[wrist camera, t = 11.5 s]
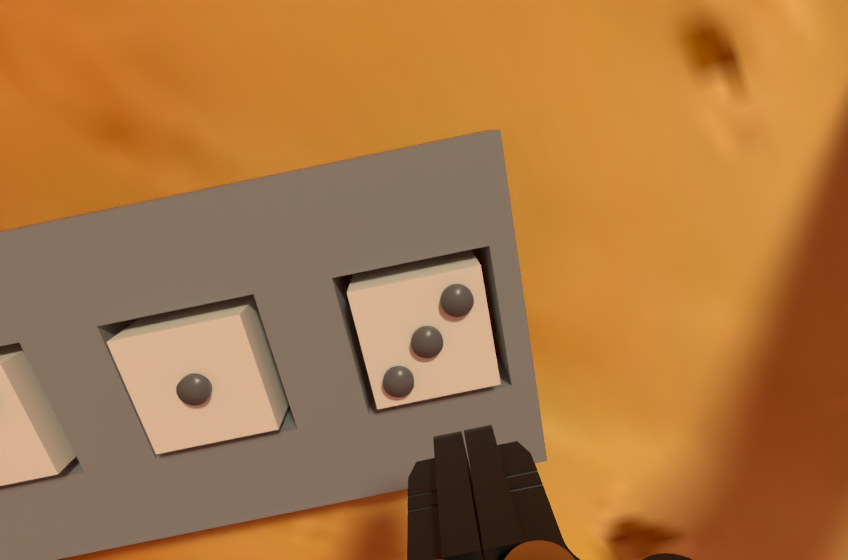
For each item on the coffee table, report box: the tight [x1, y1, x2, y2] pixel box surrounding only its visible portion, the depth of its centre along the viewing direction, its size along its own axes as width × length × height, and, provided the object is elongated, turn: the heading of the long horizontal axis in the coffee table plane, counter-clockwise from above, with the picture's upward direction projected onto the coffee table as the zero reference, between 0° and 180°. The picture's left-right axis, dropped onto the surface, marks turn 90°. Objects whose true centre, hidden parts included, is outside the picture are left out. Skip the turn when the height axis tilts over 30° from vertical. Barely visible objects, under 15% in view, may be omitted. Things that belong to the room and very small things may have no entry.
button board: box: [0, 130, 547, 560], centre depth 20 cm, size 26×14×2 cm, turn 101°
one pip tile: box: [107, 294, 289, 454], centre depth 19 cm, size 5×5×3 cm
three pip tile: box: [347, 250, 501, 409], centre depth 19 cm, size 5×5×3 cm
